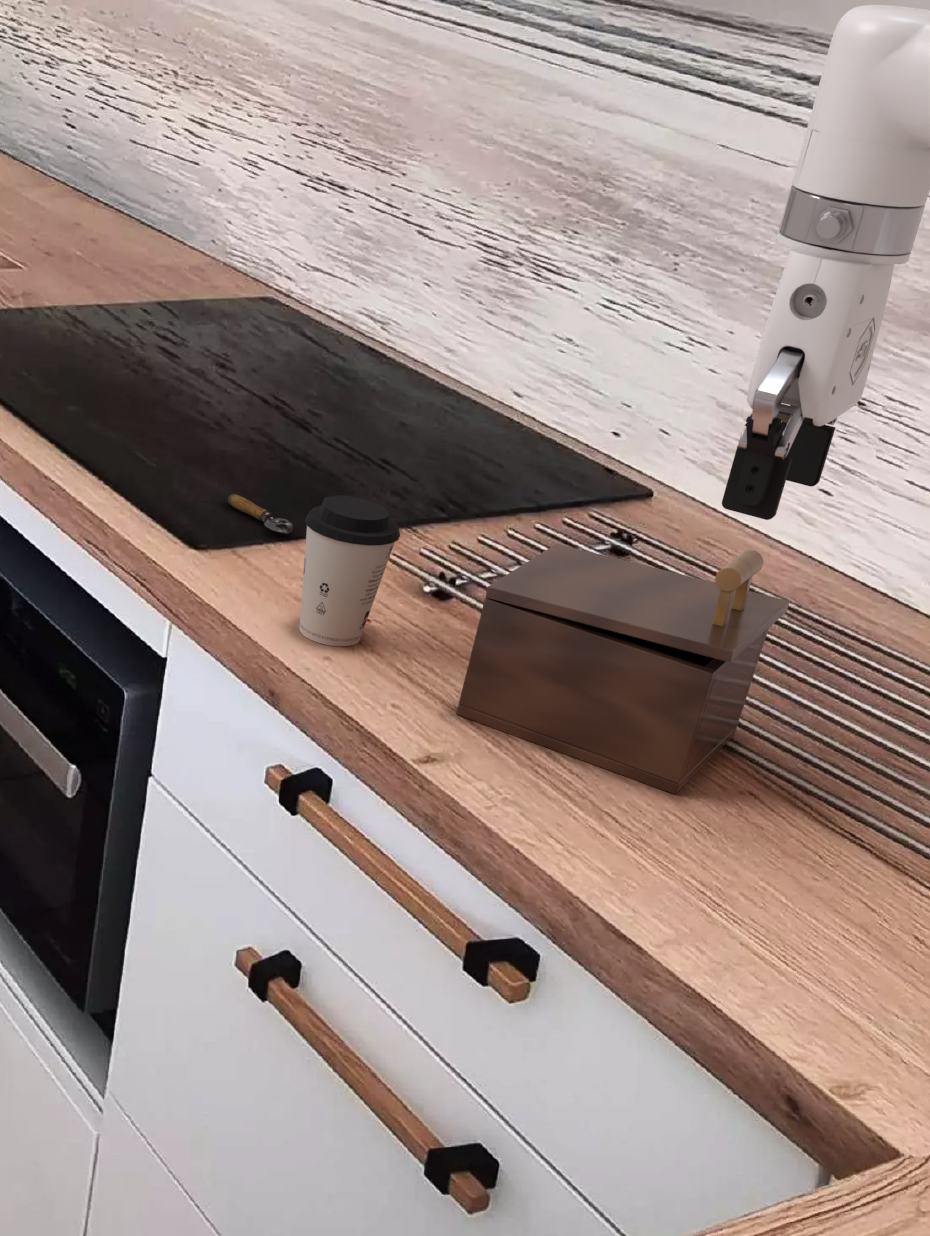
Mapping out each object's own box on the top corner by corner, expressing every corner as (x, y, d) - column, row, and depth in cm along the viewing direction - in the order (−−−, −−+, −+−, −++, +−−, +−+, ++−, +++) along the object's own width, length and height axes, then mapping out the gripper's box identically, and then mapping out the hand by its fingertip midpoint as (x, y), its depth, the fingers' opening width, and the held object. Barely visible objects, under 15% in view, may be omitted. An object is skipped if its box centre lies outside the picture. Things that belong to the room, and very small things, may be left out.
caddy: (733, 736, 140) (770, 622, 136) (675, 794, 130) (713, 673, 126) (524, 664, 148) (553, 554, 143) (455, 714, 138) (484, 598, 134)
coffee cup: (395, 648, 148) (424, 522, 143) (319, 657, 145) (346, 528, 140) (339, 611, 153) (365, 488, 149) (265, 619, 150) (289, 494, 146)
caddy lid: (787, 611, 135) (804, 544, 133) (730, 662, 125) (747, 591, 123) (554, 553, 143) (566, 489, 141) (485, 597, 134) (497, 530, 132)
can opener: (225, 505, 173) (227, 492, 172) (248, 505, 174) (250, 492, 173) (278, 538, 165) (280, 524, 165) (302, 537, 166) (304, 524, 165)
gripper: (877, 256, 111) (791, 544, 119) (947, 222, 124) (865, 483, 131) (742, 230, 115) (667, 510, 123) (823, 199, 128) (751, 454, 135)
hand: (770, 496), depth 127 cm, fingers open, 9 cm apart
